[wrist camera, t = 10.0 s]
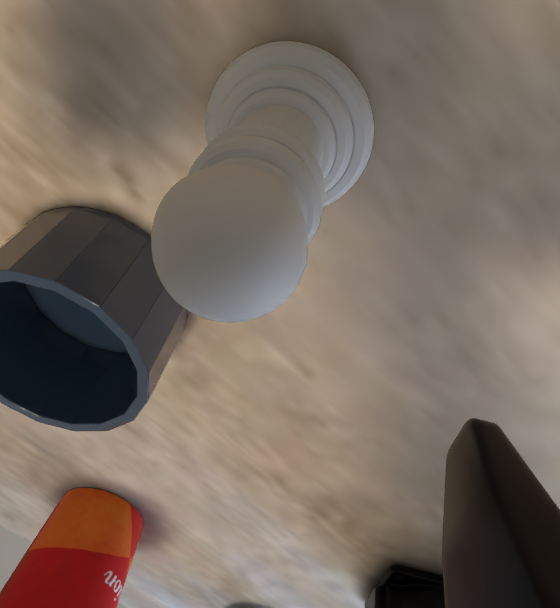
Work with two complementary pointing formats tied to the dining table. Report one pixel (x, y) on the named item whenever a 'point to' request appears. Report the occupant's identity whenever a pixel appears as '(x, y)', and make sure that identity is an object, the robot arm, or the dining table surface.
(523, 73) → the dining table surface
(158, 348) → the ceramic cup
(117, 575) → the paper cup
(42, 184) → the dining table surface
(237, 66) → the chess piece
